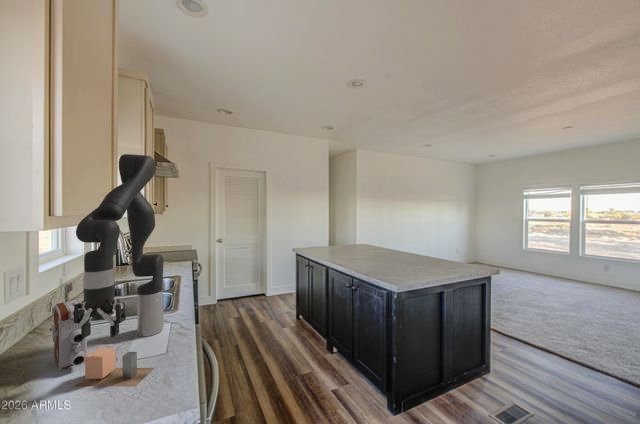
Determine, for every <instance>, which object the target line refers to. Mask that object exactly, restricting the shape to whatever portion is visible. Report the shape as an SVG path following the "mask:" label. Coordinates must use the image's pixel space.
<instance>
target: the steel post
mask: <svg viewBox="0 0 640 424" xmlns="http://www.w3.org/2000/svg"><path fill="white" fill-rule="evenodd" d="M137 355H138V353H137V351H128V352H126V353H124V355H122V360H121V361H122V368H123V379H132V378H133V377H134V376H135V375H136V374H137V368H138V356H137Z"/></svg>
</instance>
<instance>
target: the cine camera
mask: <svg viewBox="0 0 640 424" xmlns="http://www.w3.org/2000/svg"><path fill="white" fill-rule="evenodd" d="M80 302H82V301H81V300H80V299H74V300H69V301H65V302H58V303H56V304H54V305H53V306H52V307H51V314H52V315H53V325H52V326H51V336H52V337H51V338H52V343H53V347H54V348H53V349H54V350H53V352H54V353H53V354H54V355H53V356H54V359H55V360H54V361H55V362H56V365H57V368H58V370H59V371H61V370H65V369H68V368H71V367H73V366H75V367H77V366H81V365H82V364H83V363H85V356H87V355H88V354H87V352H88V340H87V339H88V337H90V336H91V334H90V335H89V336H87V337H83V336H82V334H81V325H80V324H78V323H76V324H75V323H74V305H76V304H78V303H80ZM86 313H87V311H86V309H85V314H86ZM79 316H80V315H79Z"/></svg>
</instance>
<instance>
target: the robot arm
mask: <svg viewBox="0 0 640 424" xmlns="http://www.w3.org/2000/svg"><path fill="white" fill-rule="evenodd" d="M156 169H157V165H156V162H155V159H154V158H153V157H152V156H150V155H143V154H127V153H126V154H125V153H124V154H122V155H120V156H119V159H118V171H119V176H120V180H121V184H120V185H117V186H116V187H115V188H113V189H111V190H110V191H109V192H108V193H107V194H106V195H105V196H104V199H102V201H101V203H100V204H99V205H98V207H96V208H95V209H93V210H92V211H91V212H90V213H88V214H87V215H85V217H84V218H82V219H81V220H80V222H79V223H78V224H77V226H76V229H75V235H76V238H77V240H78V241H80V242H83V243H89V244H90V243H91V244H93V243H96V244H97V243H99V246H98V248H97V249H93V250H90V251H87V252H86V253H85V254H84V257H83V266H84V267H83V271H84V273H83V280H82V281H83V282H82V283H83V284H82V288H83V301H81V302H80V303H78V304H76V305H74V323H75V324H76V323H78V324H80V325H81V334H82V336H83V337H87V338H88V337H90V336H91V333H92V326H91V325H92V324H91V321H92V319H96V318H98V319H104V320H105V321H107V323H109V324H110V326H109V329H110V330H109V333H110V338H115V337H116V336H118V335H119V333H120V324H121V323H123V322H124V321H126V320H127V317H126V316H127V315H126V302H125V301H121V302H115V301H114V300H115V297H116V276H115V270H114V256H115V252H116V248H117V245H118V242H119V238H120V235H121V228H120V225H119V224H118V223H117V221H120V220H121V219H122V218H123V216H124V215H125V213H126V217H127V225H128V230H129V236H130V244H131V245H130V246H131V267H132V268H131V269H132V273H133V275H134V276H135V277H136V278H137V277H138V278H143V277H145V278H146V277H152V279H151V280H150V281H148V282H146V283H142V284H141V285H139V286H138V287H137V289H136V291H137V292H136V293H137V294H136V295H137V301H136V302H137V304H136V305H137V309H136V310H137V311H136V312H137V315H136V316H137V318H136V320H137V336H139V337H151V336H154V335H157V334H160V333H161V332H162V331H163V330H164V327H165V326H164V321H165V320H164V316H165V315H164V306H163V305H164V304H163V303H164V302H163V300H164V299H163V298H164V297H163V289H164V288H163V287H164V286H163V284H164V264H165V263H164V257H163V255H162V254H159V253H158V254H157V253H156V254H144V247H145V245H146V242H147V240H148V239H149V238H150V236H151V235H152V233H153V231H154V230H155V227H156V217H155V210H154V208H153V206H152V205H151V203H150V202H149V201H148V200H147V198H146V197H145V196H144V195H143V194H142V192H141V191H142V190H143V189H144V188H145V187H146V185H147V184H149V182H150V181H151V180H152V178H154V176H155V174H156V171H157V170H156ZM85 309H86V314H85ZM79 315H80V316H79ZM89 335H90V336H89Z"/></svg>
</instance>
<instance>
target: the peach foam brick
mask: <svg viewBox="0 0 640 424" xmlns="http://www.w3.org/2000/svg"><path fill="white" fill-rule="evenodd" d="M116 359H117V358H116V347H98V348H97V349H95V350H93V351H92V352H90V353H89V354H87V356H85V362H84V371H85V372H84V375H85V376H84V379H103V378H104V377H105V376H107V375H108V374H109V373H110V372H112V371H113V370H114V369H115V368H117V367H116V362H117V361H116Z"/></svg>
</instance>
